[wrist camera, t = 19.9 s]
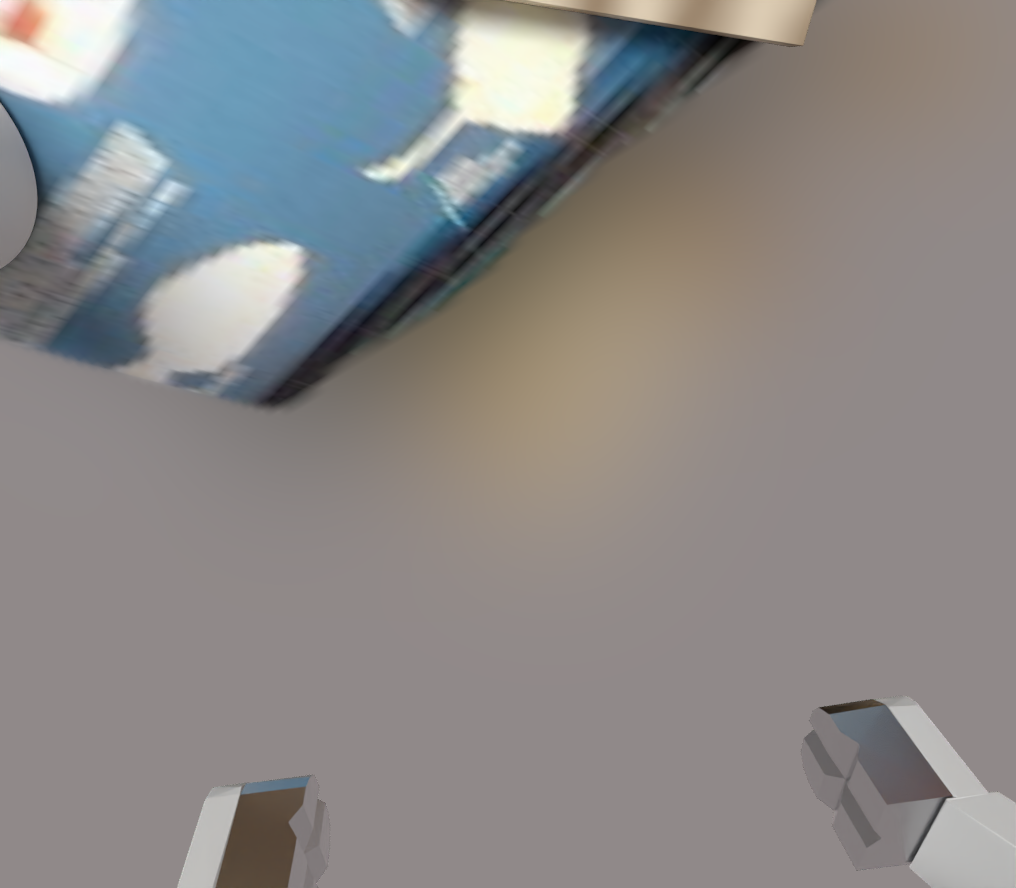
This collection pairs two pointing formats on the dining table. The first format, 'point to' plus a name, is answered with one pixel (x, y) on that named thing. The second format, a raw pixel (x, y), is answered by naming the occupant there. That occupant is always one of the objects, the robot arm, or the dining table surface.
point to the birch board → (706, 16)
